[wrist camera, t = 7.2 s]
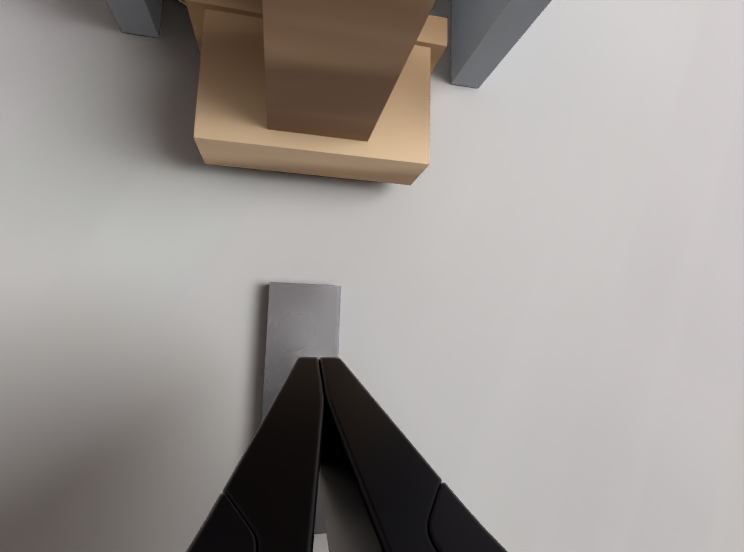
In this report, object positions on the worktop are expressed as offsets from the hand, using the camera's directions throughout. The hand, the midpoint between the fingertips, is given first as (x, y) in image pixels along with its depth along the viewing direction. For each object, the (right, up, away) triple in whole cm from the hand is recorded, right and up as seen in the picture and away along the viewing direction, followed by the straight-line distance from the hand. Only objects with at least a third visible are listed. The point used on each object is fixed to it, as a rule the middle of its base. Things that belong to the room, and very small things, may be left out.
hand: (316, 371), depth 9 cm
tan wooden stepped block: (-1, +7, +7) cm, 10 cm away
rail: (-1, -2, +6) cm, 7 cm away
